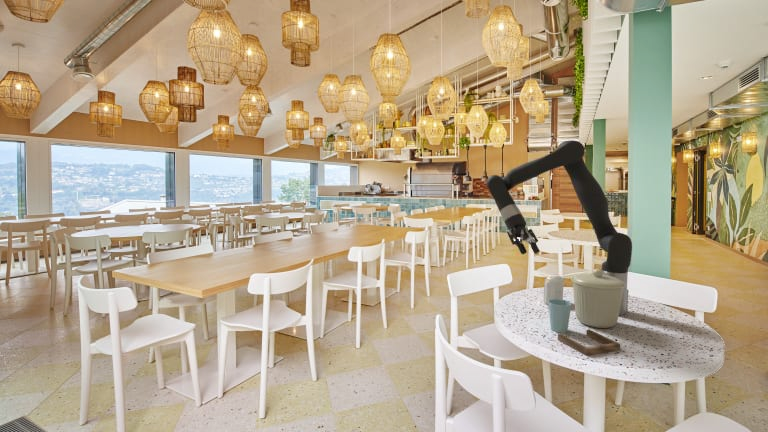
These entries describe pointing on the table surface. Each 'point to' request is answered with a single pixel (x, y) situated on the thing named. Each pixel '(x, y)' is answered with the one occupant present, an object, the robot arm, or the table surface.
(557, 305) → the cup
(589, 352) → the walnut bay
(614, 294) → the canister
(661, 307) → the table surface
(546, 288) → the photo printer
